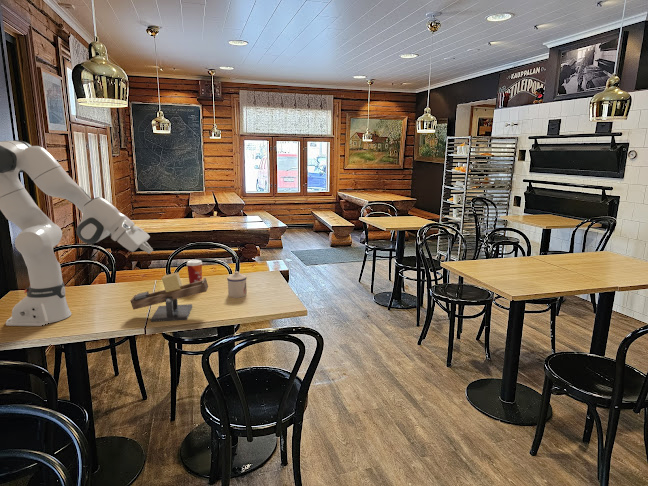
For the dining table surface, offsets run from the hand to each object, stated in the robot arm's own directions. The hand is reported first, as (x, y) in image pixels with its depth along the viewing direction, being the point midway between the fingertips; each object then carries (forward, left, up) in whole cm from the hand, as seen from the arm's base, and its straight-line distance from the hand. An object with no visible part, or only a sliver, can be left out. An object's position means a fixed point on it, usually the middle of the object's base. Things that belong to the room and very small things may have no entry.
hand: (151, 251), depth 171 cm
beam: (+7, 0, -21) cm, 22 cm away
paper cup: (+11, +35, -28) cm, 46 cm away
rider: (+8, 0, -18) cm, 20 cm away
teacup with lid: (+32, +22, -28) cm, 48 cm away
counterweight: (-5, 0, -21) cm, 21 cm away
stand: (+6, 0, -27) cm, 28 cm away
